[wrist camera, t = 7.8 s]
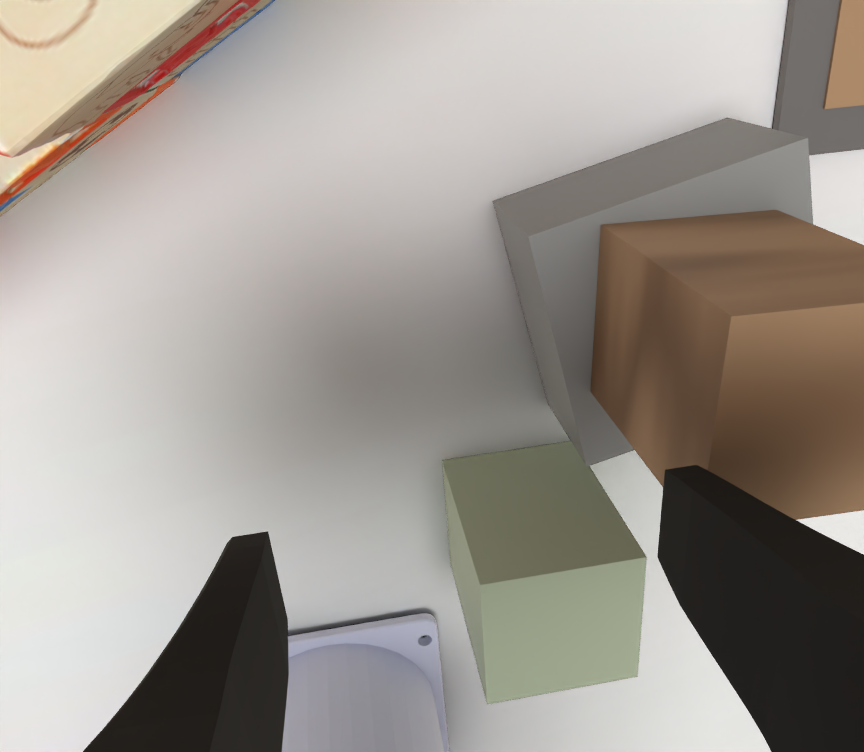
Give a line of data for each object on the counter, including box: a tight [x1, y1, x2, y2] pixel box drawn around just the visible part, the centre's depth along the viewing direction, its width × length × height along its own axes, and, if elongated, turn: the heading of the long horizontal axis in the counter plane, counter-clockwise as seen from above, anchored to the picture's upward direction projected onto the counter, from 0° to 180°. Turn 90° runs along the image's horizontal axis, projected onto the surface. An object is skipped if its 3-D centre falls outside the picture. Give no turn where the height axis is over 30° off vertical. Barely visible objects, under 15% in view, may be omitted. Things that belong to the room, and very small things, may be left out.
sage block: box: [442, 441, 647, 704], centre depth 23 cm, size 4×4×6 cm
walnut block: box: [590, 210, 864, 520], centre depth 16 cm, size 4×4×6 cm
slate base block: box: [493, 118, 813, 466], centre depth 21 cm, size 7×7×4 cm
